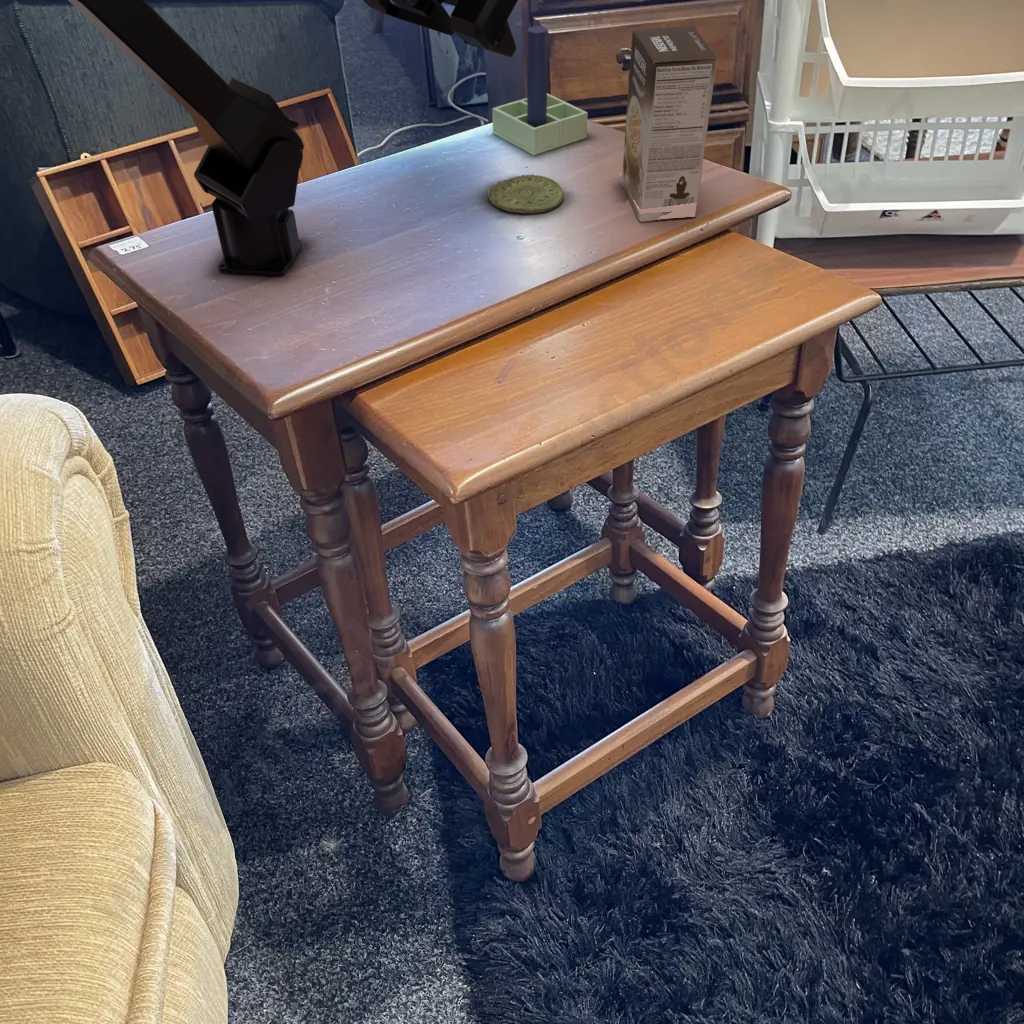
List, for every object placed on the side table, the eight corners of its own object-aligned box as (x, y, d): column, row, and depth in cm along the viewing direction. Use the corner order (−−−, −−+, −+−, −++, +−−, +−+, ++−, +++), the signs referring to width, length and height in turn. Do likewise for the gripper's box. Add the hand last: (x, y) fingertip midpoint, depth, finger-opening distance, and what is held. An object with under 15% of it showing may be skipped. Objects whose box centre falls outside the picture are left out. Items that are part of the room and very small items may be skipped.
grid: (533, 155, 113) (533, 129, 111) (492, 133, 118) (492, 108, 115) (586, 137, 116) (587, 112, 114) (545, 116, 121) (545, 92, 119)
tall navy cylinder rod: (533, 144, 114) (533, 33, 105) (524, 137, 115) (523, 27, 107) (549, 140, 114) (551, 30, 106) (540, 133, 116) (541, 24, 107)
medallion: (578, 194, 105) (578, 188, 105) (530, 221, 101) (530, 214, 100) (521, 173, 109) (521, 167, 109) (473, 198, 105) (472, 192, 104)
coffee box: (619, 184, 107) (629, 27, 96) (676, 180, 108) (693, 23, 97) (638, 223, 101) (652, 60, 90) (699, 219, 101) (720, 56, 90)
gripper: (503, -126, 83) (588, -12, 96) (368, -156, 93) (461, -49, 106) (438, -4, 84) (530, 93, 97) (311, -46, 94) (410, 46, 107)
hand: (482, 41), depth 102 cm, fingers open, 9 cm apart
